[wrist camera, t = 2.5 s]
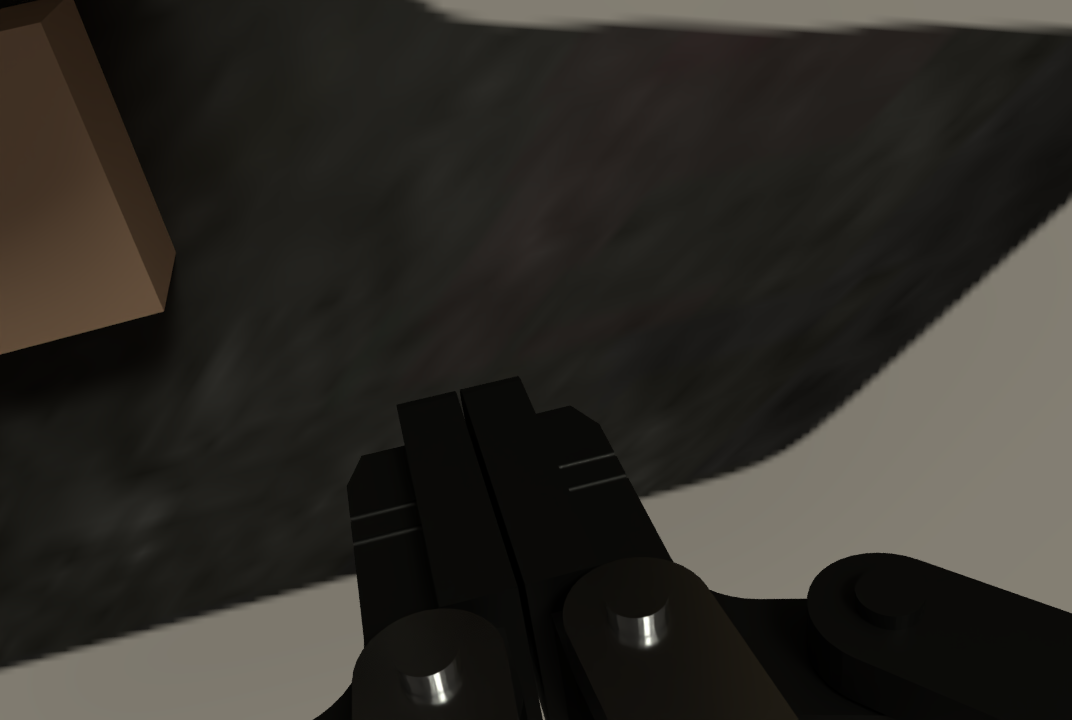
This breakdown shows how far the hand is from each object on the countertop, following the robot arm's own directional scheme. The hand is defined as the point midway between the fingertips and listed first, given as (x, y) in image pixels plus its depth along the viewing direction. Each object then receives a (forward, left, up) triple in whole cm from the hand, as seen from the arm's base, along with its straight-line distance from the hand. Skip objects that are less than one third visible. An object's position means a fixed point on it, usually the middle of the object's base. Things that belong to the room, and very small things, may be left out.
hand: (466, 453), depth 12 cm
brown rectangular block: (0, -10, -18) cm, 20 cm away
